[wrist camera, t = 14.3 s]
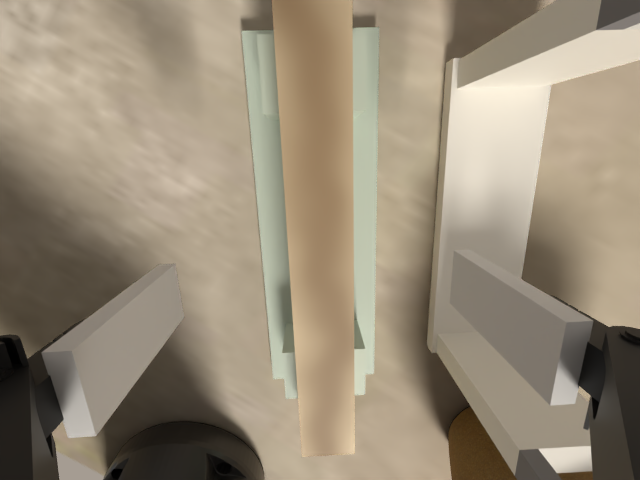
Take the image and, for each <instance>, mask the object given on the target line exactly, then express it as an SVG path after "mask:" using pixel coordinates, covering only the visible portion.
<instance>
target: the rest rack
mask: <svg viewBox="0 0 640 480" xmlns="http://www.w3.org/2000/svg"><path fill="white" fill-rule="evenodd" d="M242 42H243V53H244V64H245V75H246V86H247V97H248V108H249V119H250V130H251V141H252V152H253V163H254V174H255V185H256V196H257V207H258V218H259V229H260V240H261V251H262V262H263V273H264V284H265V295H266V306H267V317H268V328H269V339H270V350H271V361H272V372H273V379H284V383H285V396H286V399H292V398H298V391H297V376H296V361H295V346H294V331H293V315H292V300H291V285H290V270H289V255H288V240H287V225H286V209H285V194H284V179H283V164H282V149H281V134H280V119H279V104H278V88H277V73H276V58H275V43H274V30H254V31H242ZM378 80H379V27H363V28H353V198H354V391H355V395H365V374H374V343H375V277H376V211H377V146H378Z"/></svg>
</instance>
